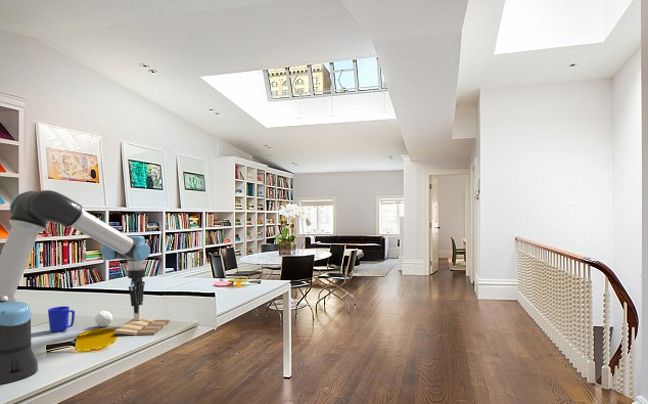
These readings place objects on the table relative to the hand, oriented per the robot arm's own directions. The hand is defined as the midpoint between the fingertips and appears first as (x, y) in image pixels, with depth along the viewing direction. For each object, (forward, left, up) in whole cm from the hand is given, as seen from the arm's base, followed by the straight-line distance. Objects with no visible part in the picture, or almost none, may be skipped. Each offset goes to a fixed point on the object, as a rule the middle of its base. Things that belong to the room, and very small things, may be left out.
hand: (137, 319), depth 200 cm
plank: (-7, -2, -2) cm, 8 cm away
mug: (-6, +31, -3) cm, 32 cm away
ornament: (-1, +15, -3) cm, 15 cm away
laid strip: (-7, -10, -2) cm, 13 cm away
